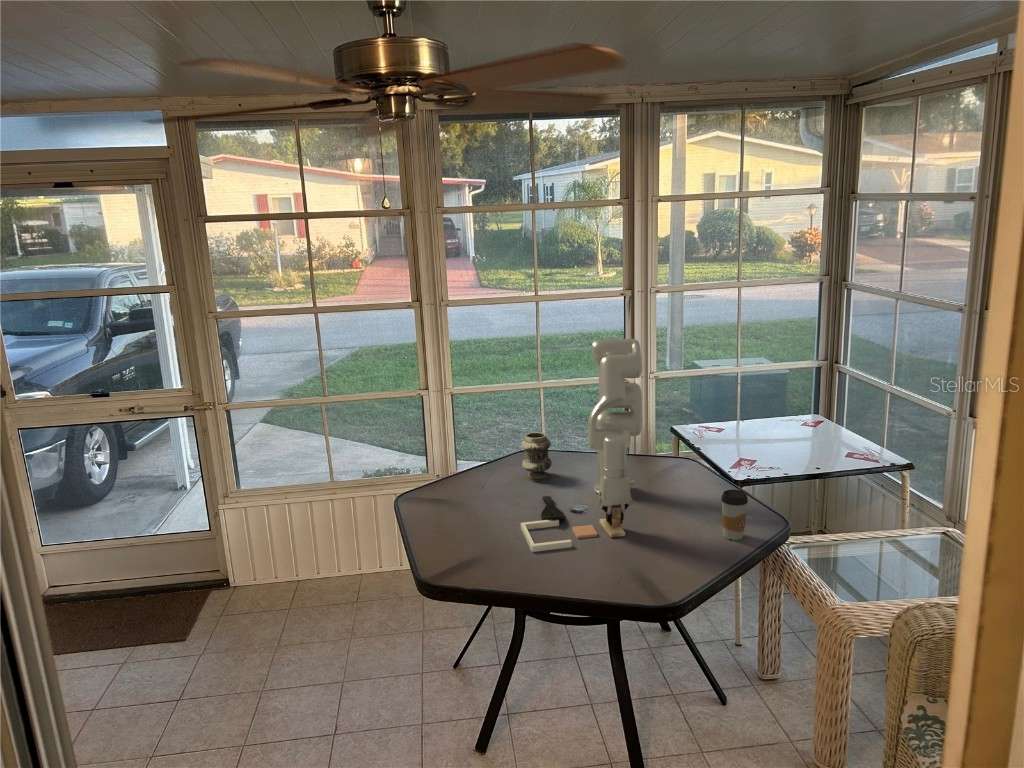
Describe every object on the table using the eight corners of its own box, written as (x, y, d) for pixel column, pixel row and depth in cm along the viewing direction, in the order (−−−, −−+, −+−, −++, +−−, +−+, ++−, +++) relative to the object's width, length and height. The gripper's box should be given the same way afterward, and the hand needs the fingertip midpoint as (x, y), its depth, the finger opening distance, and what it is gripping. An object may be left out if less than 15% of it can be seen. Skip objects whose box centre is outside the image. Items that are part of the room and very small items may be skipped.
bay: (557, 524, 246) (557, 518, 245) (571, 547, 228) (571, 541, 228) (520, 528, 243) (520, 522, 243) (531, 552, 226) (531, 546, 226)
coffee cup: (732, 544, 226) (734, 500, 223) (714, 534, 234) (715, 492, 230) (751, 538, 230) (754, 495, 226) (733, 528, 237) (734, 487, 234)
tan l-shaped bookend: (613, 520, 246) (613, 498, 244) (625, 535, 235) (625, 512, 233) (599, 522, 245) (599, 500, 243) (610, 537, 234) (610, 514, 232)
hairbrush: (556, 490, 268) (566, 513, 243) (556, 499, 268) (567, 523, 244) (534, 491, 267) (543, 515, 243) (535, 501, 268) (543, 525, 243)
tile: (592, 528, 242) (592, 524, 242) (597, 537, 235) (597, 533, 235) (572, 530, 241) (572, 526, 241) (577, 540, 234) (577, 535, 234)
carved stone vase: (537, 469, 298) (536, 428, 294) (558, 476, 290) (557, 434, 285) (516, 476, 290) (515, 435, 286) (537, 484, 282) (535, 441, 278)
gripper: (634, 465, 240) (633, 515, 245) (587, 470, 237) (588, 521, 242) (642, 473, 233) (641, 524, 237) (594, 478, 230) (595, 530, 234)
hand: (614, 522), depth 239 cm, fingers closed on tan l-shaped bookend, 3 cm apart
